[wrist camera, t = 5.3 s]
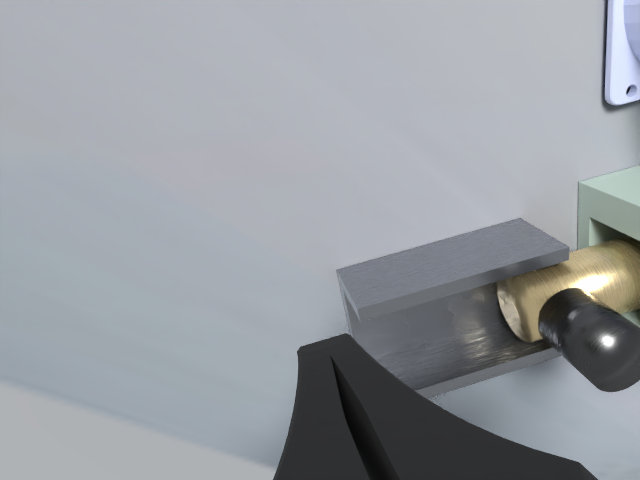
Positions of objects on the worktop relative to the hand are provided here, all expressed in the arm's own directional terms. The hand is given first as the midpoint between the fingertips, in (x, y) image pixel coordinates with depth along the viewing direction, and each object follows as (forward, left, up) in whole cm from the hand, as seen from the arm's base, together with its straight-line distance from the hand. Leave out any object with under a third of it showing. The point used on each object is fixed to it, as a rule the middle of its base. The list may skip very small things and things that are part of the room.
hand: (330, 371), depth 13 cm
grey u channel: (-6, +5, -9) cm, 12 cm away
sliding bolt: (-14, +5, -8) cm, 17 cm away
